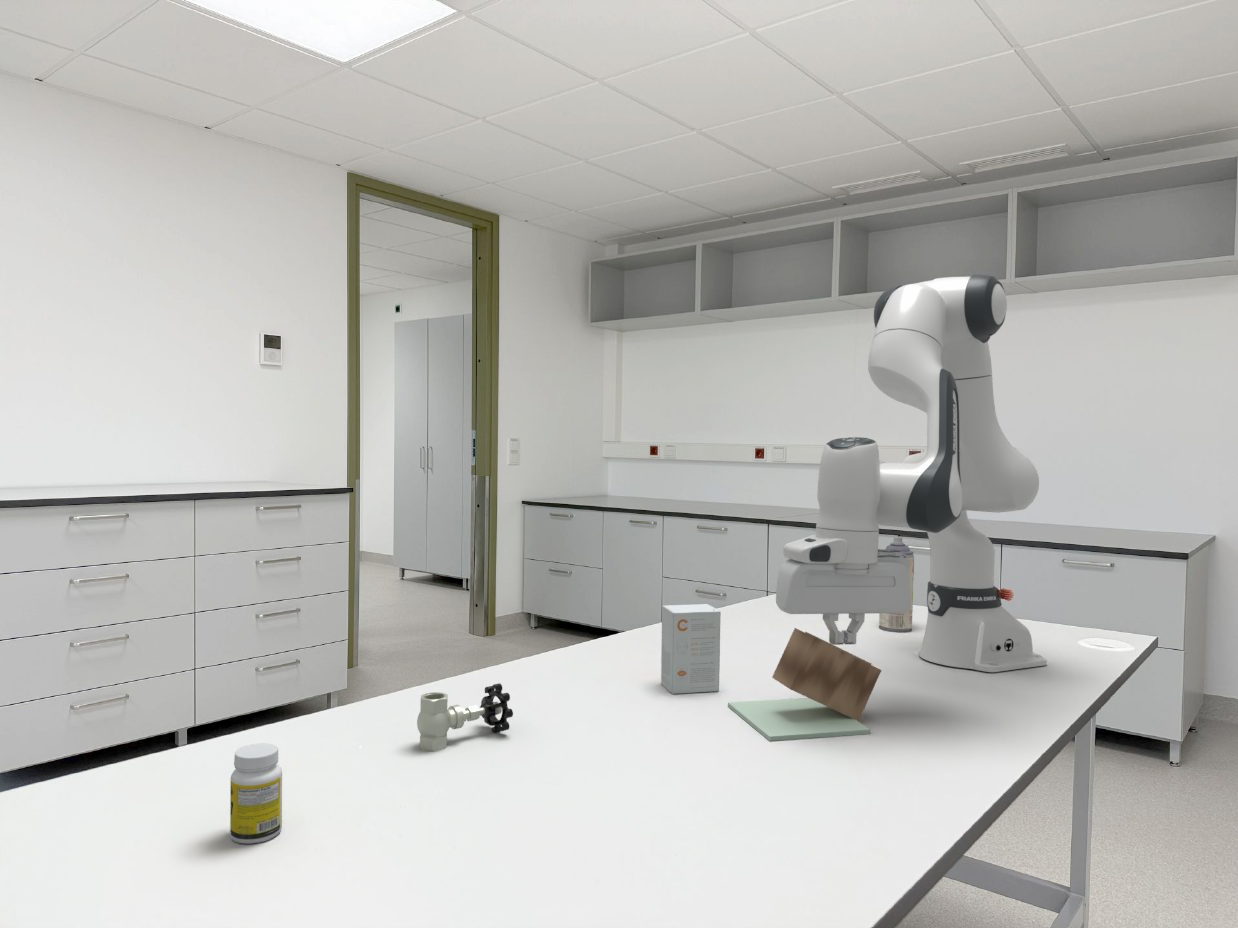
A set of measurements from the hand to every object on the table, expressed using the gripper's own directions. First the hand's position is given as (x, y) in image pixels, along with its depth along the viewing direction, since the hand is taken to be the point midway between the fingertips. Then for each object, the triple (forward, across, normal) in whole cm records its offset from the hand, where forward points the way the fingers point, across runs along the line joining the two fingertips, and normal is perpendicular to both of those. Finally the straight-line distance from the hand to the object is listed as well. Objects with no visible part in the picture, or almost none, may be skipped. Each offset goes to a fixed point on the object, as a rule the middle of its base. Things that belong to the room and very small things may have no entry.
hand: (842, 643), depth 123 cm
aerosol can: (+9, -42, -53) cm, 68 cm away
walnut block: (+7, -3, -1) cm, 8 cm away
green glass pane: (+11, +7, -1) cm, 13 cm away
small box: (+11, +17, -19) cm, 27 cm away
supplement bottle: (+13, +76, +21) cm, 80 cm away
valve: (+12, +54, -2) cm, 56 cm away
